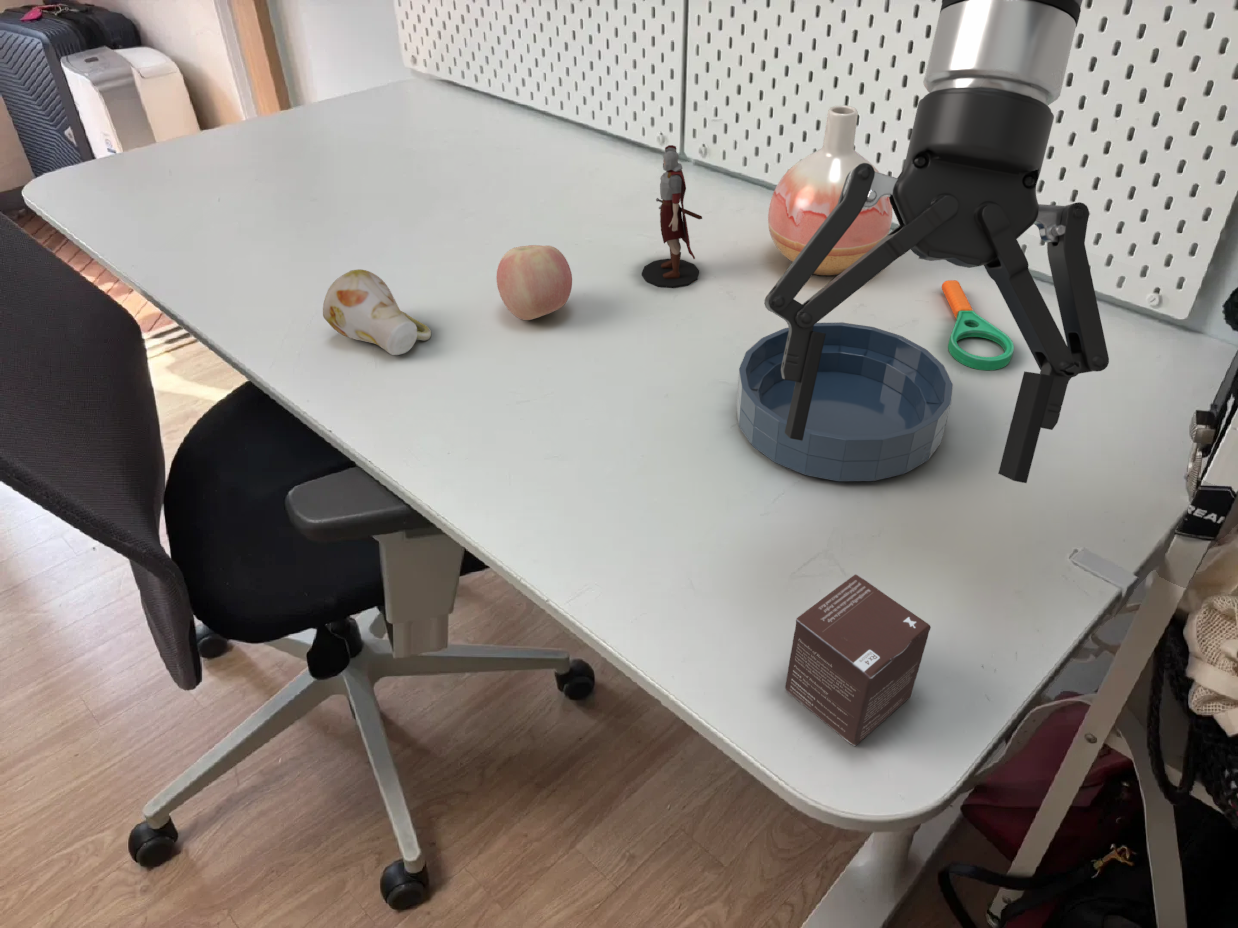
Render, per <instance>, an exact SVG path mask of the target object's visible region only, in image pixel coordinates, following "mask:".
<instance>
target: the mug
mask: <svg viewBox="0 0 1238 928" xmlns="http://www.w3.org/2000/svg"><path fill="white" fill-rule="evenodd" d="M322 317H323V319H324V320H325V322H327V323H328V324H329V326H330V327H331V328H332V329H333V330H335V332H337V333H339V334H340V335H342V336H344V337H345V338H346V337H347V338H350V339H352V340H357V341H361V342H366V343H370V344H374V345H377V346H378V347H380V348H381V349H383V350H384V351H385V352H387V354H390V355H393V356H399V355H404V354H406V353H408V352H409V351H410V350H411V349H412V348H413V347H414V345H415V343H416V341H417V340H419V341H424V342H425V341H428V340H429V339H430V338H431V337H432V331H431V329H430V328H429V326H427V325H426V324H424V323H422V322H420V321H419V320H417V319H415V318H413V317H412V316H410V315H408V314H407V313H406V312H404V311H403V310H401V309H400V307H399V305H398V303H397V301H396V299H395V297H394V295H393V293H392V291H391V290H390V288H389V287H388V285H387V284H386V282H385V281H384V280H383V279H382V278H381V277H380V276H378V275H377V274H375V273H373V272H371V271H369V270H367V269H353V270H350V271H347V272H345V273H344V274H342V275H340V276H339V277H338V278H336V279H335V280H334V281H333V282H332V283H331V284H330V286H329V287H328V289H327V291H326V294H325V297H324V300H323V304H322Z"/></svg>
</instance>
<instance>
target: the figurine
mask: <svg viewBox="0 0 1238 928" xmlns="http://www.w3.org/2000/svg"><path fill="white" fill-rule="evenodd" d="M662 159H663V163H662V169H663V171H665V172H663V173H662V175H661V176H660V178H659V179H660V184H659V194H660V199H659V197H656V199H655V200H656V202H657V203H661V205H660V206H659V207H658V210H660V211H659V225H660V232H661V234H660V235H661V237H662V238H661V239H662V242H663V244H665V245H667V246H668V247H669V255H670V257H669V258H663V259H657V260H653V261H651V262H649V263H647V264H645V265H644V267H643V268H642V271H641V277H642V278H643V280H644V281H645V282H646V283H647V284H650V285H653V286H655V287H658V288H663V289H664V288H665V289H666V288H667V289H678V288H682V287H683V288H684V287H688V286H690V285H692V284H693V283H695V282H696V281H698V279H699V277H700V269H699V268H698V267H697V266H696V265H695V263H692V262H690V261H687V260H685V259H681V256H682V252H681V250H682V246H681V242H680V240H682V241H683V242H684V243H685V244H686V248H687V251H688V252H687V253H688V254H689V255H690V256H691V257H692V259H693V260H696V256H695V255H694V253H693V250H692V249H691V241H690V235H689V228H688V223H687V217H686V215H687V216H690V217H691V218H694V219H697V220H703V216H702V215H700V214H697V213H695V212H694V211H691V210H688V209H686V208H685V206H684V199H685V195H686V192H687V185H686V179H685V176H684V172H683V165H682V163H679V153H678V152H677V146H675V145H674V144H671V145H670V144H668V145H666V146H665V147H664V154H663V157H662Z"/></svg>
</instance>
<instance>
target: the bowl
mask: <svg viewBox="0 0 1238 928" xmlns="http://www.w3.org/2000/svg"><path fill="white" fill-rule="evenodd" d="M813 331H815V332H820V333H826V335H825V340H824V345H823V349H822V354H821V358H820V363H819V367H818V372H817V377H816V381H815V386H814V390H813V395H812V399H811V404H810V408H809V413H808V418H807V422H806V427H805V431H804V436H803V440H802V441H801V440H796V439H791V438H789V437H788V436H787V435H786V434H785V429H786V424H787V419H788V415H789V410H790V405H791V401H792V396H793V392H794V387H795V381H790V380H785V379H783V378H782V374H781V366H782V361H783V356H784V351H785V347H786V342H787V337H788V333H789V327H785V328H781V329H779V330H776V331H775V332H772V333H769V334H768V335H765V336H764V337H761V338H760V339H759V340H758V341H757V342H756V343H754V344H753V345H752V346H751V347H750V348H749V349H748V350H747V351H746V352H745V353H744V356H743V358H742V361H741V363H740V365H739V367H738V380H737V391H736V405H735V410H736V416H737V422H738V427H739V429H740V430H741V432H742V434H743V435H744V436H745V438H746V439H747V441H748V443H750V445H751V446H752V447H753V448H754V449H756V450H757V451H759V453H761V454H763V455H764V456H765V457H766V458H767V459H769V460H771V461H772V462H773V463H775V464H777V465H780V466H783V467H785V468H787V469H789V470H792V471H794V472H797V473H799V474H802V475H804V476H809V477H814V478H818V479H823V480H830V481H835V482H875V481H881V480H884V479H885V480H886V479H888V478H893V477H897V476H901V475H905V474H907V473H909V472H910V471H912V470H914V469H916V468H917V467H919V466H921V465H923V464H924V463H926V462H928V461H929V460H930V458H931V457H932V456H933V454H934V453H935V451H936V450H937V449H938V448H939V446H940V445H941V443H942V440H943V436H944V434H945V433H944V432H945V428H946V425H947V420H948V416H949V412H950V409H951V405H952V396H953V388H954V387H953V386H954V384H953V381H952V380H951V378H950V376H949V373H948V371H947V369H946V367H945V365H944V364H943V363H942V362H940V360H938V358H936V357H935V356H934V355H933V354H932V353H931V352H930V351H929V350H928V349H927V348H925V347H923V346H921V345H919V344H917V343H916V342H913V341H911V339H909V338H906V337H905V336H904V335H903V336H902V335H900V334H896V333H895V332H894V333H893V332H890V331H888V330H884V329H880V328H877V327H875V326H871V325H869V326H868V325H863V324H856V323H849V322H839V321H838V322H817V323H816V324H814V326H813Z"/></svg>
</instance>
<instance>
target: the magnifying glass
mask: <svg viewBox="0 0 1238 928" xmlns="http://www.w3.org/2000/svg"><path fill="white" fill-rule="evenodd" d="M941 290H942V292H943V294H944V297H945V298H946V300H947V302H948V304H949V307H950V309H951V311H952V313H953V316H954V318H955V319H956V321H955V324H954V326H953V329H952V331H951V334H950V336H949V340H948V343H947V349H948V352H949V354H950V356H952V357H953V359H954V360H956V361H957V362H958V363H960V364H962V365H963V366H966V367H968V368H970V369H974V370H979V371H996V370H1001V369H1003V368H1005V367H1006V366H1008V365H1009V363H1010V362H1011V360H1012V358H1013V355H1014V351H1015V345H1014V342H1013V340H1012V339H1011V337H1009V336H1008V334H1006V333H1005V332H1004V331H1003V330H1001V329H999V328H998V327H997V326H995V325H994V324H992V323H990V322H989V321H988V320H986V319H985V318H983V317H982V316H981V315H979V314H978V313H977V312H976V311H975V310H973V308H972V306H971V304H970V302H969V299H968V298H967V296H966V294H965V291H964V289H963V288H962V286H961V283H960V282H959V281H958V280H955V279H954V280H953V279H950V280H945V281H944V282H943V283H942V284H941ZM970 337H971V338H972V337H973V338H974V337H975V338H983V339H987V340H990V341H992V342H994V343H996V344H998V345H999V346H1000V347H1001V348H1002V349H1003V351H1004V352H1003V353H1002V354H999V355H996V356H980V355H975V354H973V353H970V352H968V351H966V350H964V349H963V348H962V347H961V346H959V344H958V341H959V340H962V339H964V338H970Z"/></svg>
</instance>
